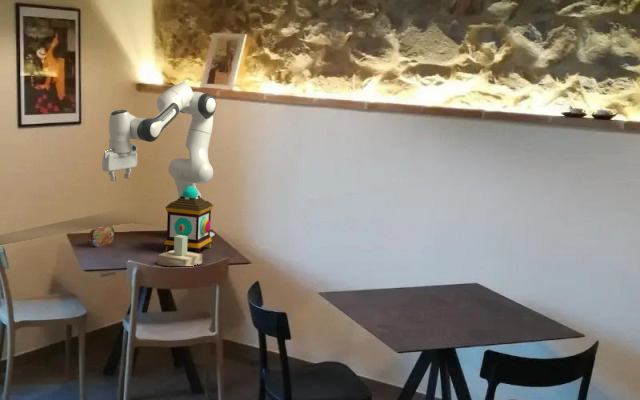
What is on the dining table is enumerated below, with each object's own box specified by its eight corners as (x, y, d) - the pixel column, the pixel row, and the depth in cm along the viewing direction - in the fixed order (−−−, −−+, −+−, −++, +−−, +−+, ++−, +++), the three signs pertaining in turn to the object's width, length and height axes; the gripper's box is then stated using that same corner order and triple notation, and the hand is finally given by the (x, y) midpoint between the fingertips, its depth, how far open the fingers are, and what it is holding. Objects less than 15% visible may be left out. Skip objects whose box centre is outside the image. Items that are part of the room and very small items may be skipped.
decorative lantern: (159, 252, 350) (160, 186, 345) (176, 243, 369) (178, 181, 364) (200, 257, 346) (202, 191, 341) (216, 247, 365) (218, 185, 360)
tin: (92, 248, 349) (93, 230, 348) (87, 247, 351) (87, 229, 349) (115, 242, 363) (115, 225, 361) (109, 241, 364) (110, 224, 363)
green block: (179, 252, 335) (179, 234, 333) (187, 254, 333) (187, 236, 332) (173, 254, 331) (174, 236, 330) (181, 256, 329) (182, 237, 328)
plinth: (175, 258, 341) (175, 249, 340) (202, 263, 336) (202, 254, 335) (157, 264, 329) (157, 255, 329) (185, 269, 324) (185, 260, 323)
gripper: (110, 150, 324) (110, 182, 326) (139, 146, 343) (140, 177, 345) (98, 149, 326) (98, 181, 329) (128, 145, 345) (128, 176, 347)
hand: (120, 179), depth 337 cm, fingers open, 8 cm apart
